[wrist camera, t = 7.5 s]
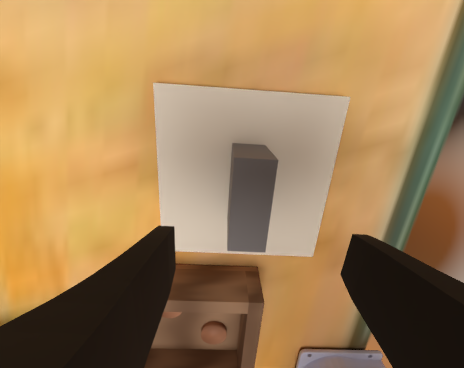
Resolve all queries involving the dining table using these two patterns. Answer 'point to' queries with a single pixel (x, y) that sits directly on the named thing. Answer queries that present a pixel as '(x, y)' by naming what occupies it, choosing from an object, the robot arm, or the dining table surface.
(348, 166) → the dining table surface
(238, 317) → the walnut box
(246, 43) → the dining table surface
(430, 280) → the robot arm
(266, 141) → the cream lid
